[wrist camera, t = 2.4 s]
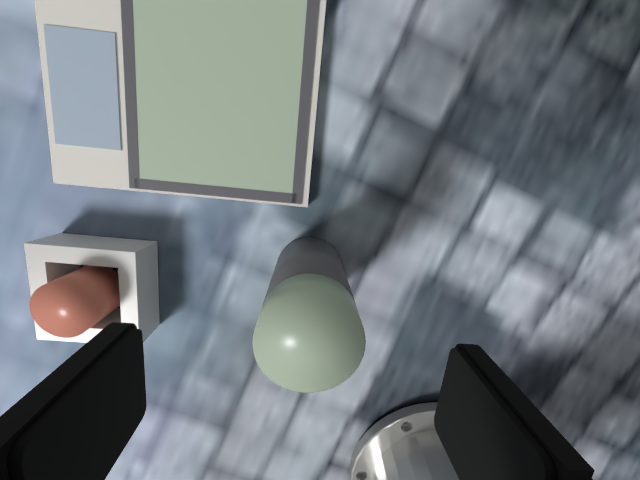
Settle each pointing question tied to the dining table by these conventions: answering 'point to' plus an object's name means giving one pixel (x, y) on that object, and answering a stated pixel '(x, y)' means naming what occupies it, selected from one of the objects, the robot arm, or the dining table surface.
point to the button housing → (125, 254)
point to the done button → (76, 301)
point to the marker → (309, 320)
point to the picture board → (183, 95)
